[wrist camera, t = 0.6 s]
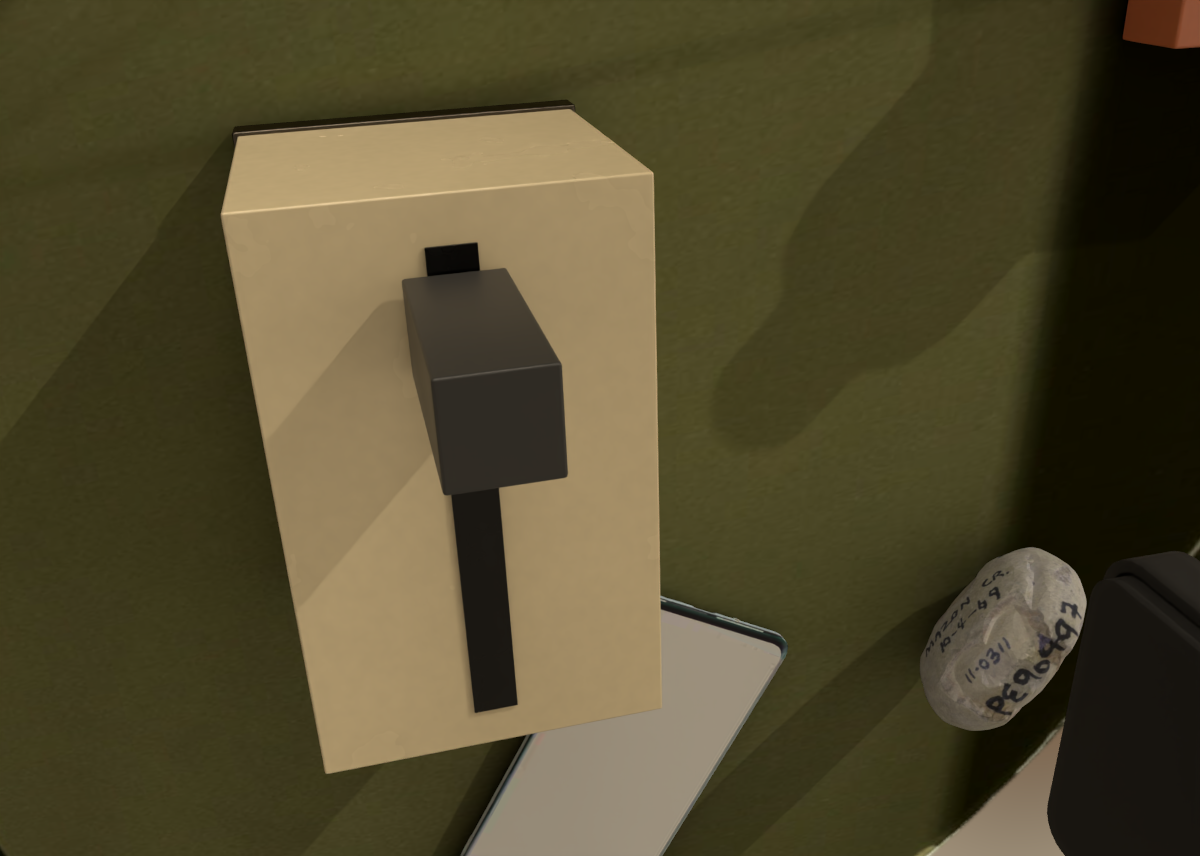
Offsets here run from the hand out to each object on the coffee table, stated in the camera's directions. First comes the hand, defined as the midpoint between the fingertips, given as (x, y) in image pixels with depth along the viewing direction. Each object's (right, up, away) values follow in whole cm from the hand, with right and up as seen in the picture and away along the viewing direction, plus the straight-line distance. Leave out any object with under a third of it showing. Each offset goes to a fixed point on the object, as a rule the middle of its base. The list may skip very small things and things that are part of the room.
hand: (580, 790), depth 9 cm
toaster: (-4, +5, +21) cm, 22 cm away
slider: (-3, +5, +12) cm, 14 cm away
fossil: (+12, -3, +30) cm, 32 cm away
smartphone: (0, -9, +29) cm, 30 cm away
